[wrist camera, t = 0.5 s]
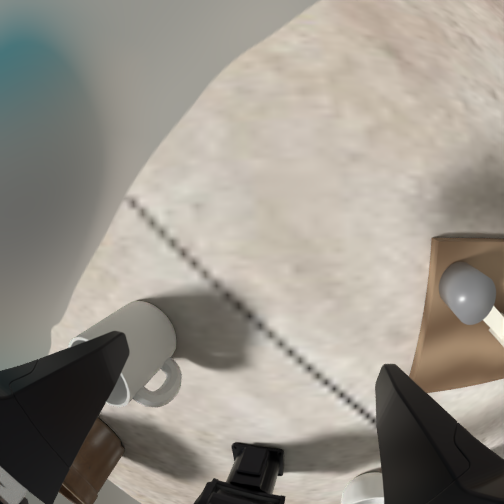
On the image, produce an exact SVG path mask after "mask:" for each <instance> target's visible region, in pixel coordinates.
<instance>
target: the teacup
mask: <svg viewBox="0 0 504 504" xmlns="http://www.w3.org/2000/svg"><path fill="white" fill-rule="evenodd" d="M341 504H384V492H383V479H382V473H379V472H371V473H366V474H362V475H360V476H358V477H356V478H354V479H353V480H351V481H350V482H349V483H348V484H347V486H346V487H345V489H344V491H343V494H342V499H341Z"/></svg>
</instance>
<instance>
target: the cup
mask: <svg viewBox="0 0 504 504" xmlns="http://www.w3.org/2000/svg"><path fill="white" fill-rule="evenodd" d="M114 330H116V331H120V332H123V333H125V335H126V338H127V342H128V346H129V350H130V353H129V357H128V359H127V361H126V363H125V366H124V368H123V370H122V372H121V374H120V377H119V379H118V381H117V383H116V385H115V387H114V389H113V391H112V393H111V395H110V396H109V398H108V400H107V401H106V404H108V405H111V406H114V407H124V406H125V405H127V404H128V403H129V402H130V401H131V400H132V399H134V400H135V401H136V402H138V403H139V404H141V405H144V406H146V407H160V406H163V405H166V404H168V403H169V402H170V401H172V400H173V399H174V397H175V396H176V395H177V393H178V391H179V389H180V386H181V378H182V374H181V371H180V367H179V366H178V365H177V363H176V362H175V361H174V360H173V359H172V358H171V356H172V355H173V353H174V351H175V349H176V343H177V342H176V334H175V330H174V328H173V325H172V323H171V322H170V320H169V319H168V317H167V316H166V315H165V314H164V313H163V312H162V311H161V310H160V309H159V308H157V307H156V306H154V305H152V304H150V303H147V302H142V301H134V302H131V303H129V304H127V305H125V306H124V307H122V308H120V309H119V310H117V311H116V312H114V313H112V314H111V315H109V316H108V317H106V318H105V319H103V320H101V321H100V322H98V323H97V324H95V325H93V326H92V327H90V328H89V329H87V330H86V331H84V332H83V333H81V334H79V335H78V336H76V337H75V338H73V339H72V340H71V341H70V343H69V348H70V347H72V346H75V345H78V344H80V343H83V342H85V341H88V340H91V339H93V338H96V337H99V336H101V335H104V334H106V333H109V332H111V331H114ZM160 369H162V370H163V371H164V372H165V374H166V377H167V378H166V380H165V382H164V384H163V385H162V386H161V387H160V388H159V389H158V390H156V391H153V392H152V391H149V390H148V389H146V388H145V387H144V386H145V385H146V384H147V383H148V382H149V380H150V379H151V378H152V377H153V376H154V375H155V374H156V373H157V372H158V371H159V370H160Z"/></svg>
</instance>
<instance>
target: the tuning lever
mask: <svg viewBox="0 0 504 504" xmlns="http://www.w3.org/2000/svg"><path fill="white" fill-rule="evenodd" d="M439 294H440V297H441V299H442V300H443V301H444V302H445V303H446V305H447V306H448V307H449V308H450V309H451V310H452V311H453V313H454V314H455V315H456V316H457V317H458V318H459V319H460V321H461V322H463V323H464V324H467V325H474V324H477V323H479V322H481V321H482V320H483V321H484V322H485V323H486V324H487V325H488V326H489V327H490V329H489V331H490V332H491V333H492V334H493V336H494V337H495V338H496V339H497V340H498V341H499V342H500V343H501V345H502V346H503V347H504V314H503V313H501V314H500V312H499V311H498V310H497V309H496V308H495V307H494V306H493V305H494V303H495V299H496V288H495V284H494V282H493V281H492V279H491V278H489V277H488V276H486V275H485V274H483V273H482V272H480V271H479V270H477V269H476V268H474V267H472V266H471V265H469V264H468V263H466V262H455V263H453V264H451V265H450V266H449V267H448V268H447V269H446V270H445V271H444V273H443V274H442V276H441V279H440V282H439Z"/></svg>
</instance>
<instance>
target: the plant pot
mask: <svg viewBox="0 0 504 504" xmlns="http://www.w3.org/2000/svg"><path fill="white" fill-rule="evenodd" d="M123 453H124V447H122V446H121V441H120V439H119V438H118V437H117V436H116V435H115V433H114V432H113V431H112V430H111V429H110V428H109V427H108V426H107V425H106V424H105V423H104V422H102V421H101V420H100V419H99V418H98V417H97V419H96V421H95V423H94V424H93V426H92V428H91V430H90V432H89V434H88V435H87V437H86V439H85V441H84V443H83V445H82V447H81V448H80V450H79V452H78V454H77V456H76V458H75V460H74V462H73V464H72V466H71V467H70V470H69V472H68V474H67V476H66V478H65V480H64V482H63V484H62V486H61V488H60V490H59V493H61V494H62V495H63V496H64V497H66V498H67V499H68V500H69V501H71V502H72V503H74V504H93V503H94V502H95V500H96V499H97V497H98V495H97V494H98V492H99V491H100V489H101V487H102V486H103V484H104V483H105V481H106V480H107V478H108V476H109V475H110V473H111V472H112V470H113V469H114V467H115V466H116V464H117V463H118V461H119V459H120V458H121V456H122V455H123Z"/></svg>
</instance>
